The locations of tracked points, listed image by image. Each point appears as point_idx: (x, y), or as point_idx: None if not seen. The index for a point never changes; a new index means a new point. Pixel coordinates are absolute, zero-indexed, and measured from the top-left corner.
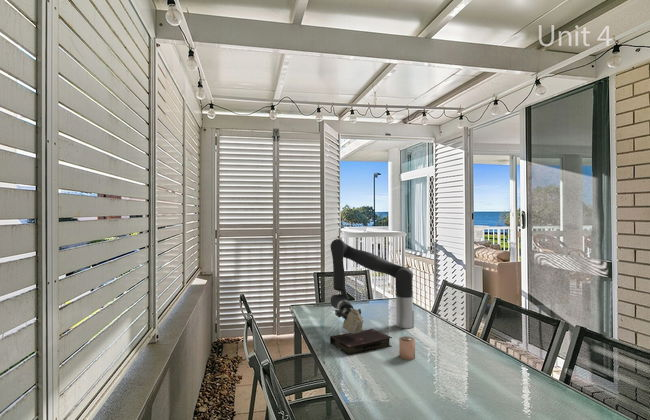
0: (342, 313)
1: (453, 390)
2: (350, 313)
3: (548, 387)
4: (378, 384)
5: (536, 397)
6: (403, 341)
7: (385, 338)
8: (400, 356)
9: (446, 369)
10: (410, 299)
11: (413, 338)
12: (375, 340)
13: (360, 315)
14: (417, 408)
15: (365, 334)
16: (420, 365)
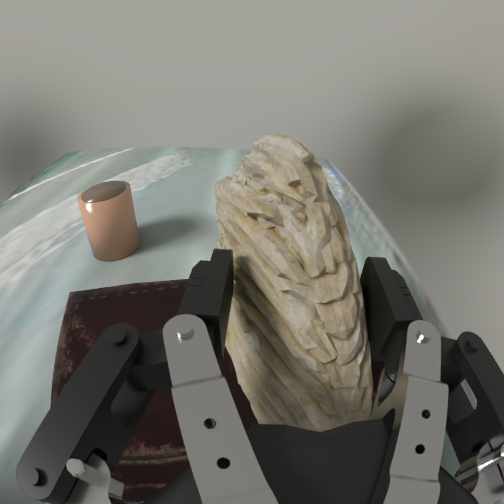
0: (429, 332)
1: (159, 165)
2: (329, 189)
3: (56, 169)
4: None
5: (90, 159)
6: (129, 184)
7: (104, 291)
8: (139, 239)
9: None
10: None
11: (86, 190)
12: (167, 281)
13: (232, 177)
14: (239, 153)
15: (162, 392)
16: None
